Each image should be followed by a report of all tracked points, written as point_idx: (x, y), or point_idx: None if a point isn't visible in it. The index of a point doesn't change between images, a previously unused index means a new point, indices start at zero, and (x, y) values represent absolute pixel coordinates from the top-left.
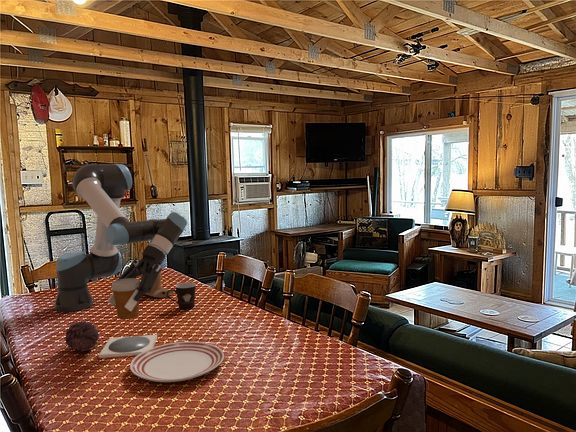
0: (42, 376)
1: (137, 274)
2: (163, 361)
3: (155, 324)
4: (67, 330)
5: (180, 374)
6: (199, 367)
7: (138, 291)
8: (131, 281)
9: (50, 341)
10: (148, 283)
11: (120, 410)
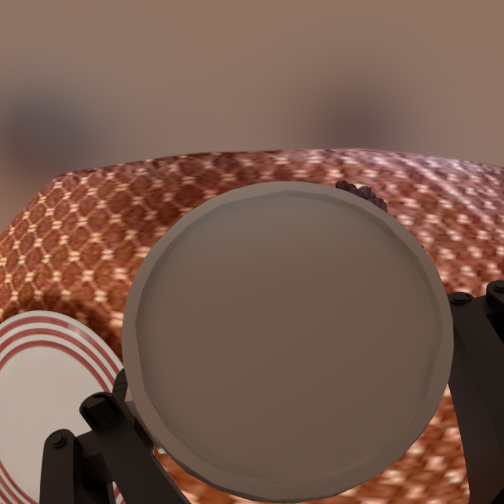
0: (225, 172)
1: (477, 490)
2: (83, 418)
3: (428, 495)
4: (348, 184)
5: (8, 402)
6: (12, 452)
7: (132, 412)
8: (302, 395)
9: (433, 206)
10: (48, 491)
11: (5, 266)
